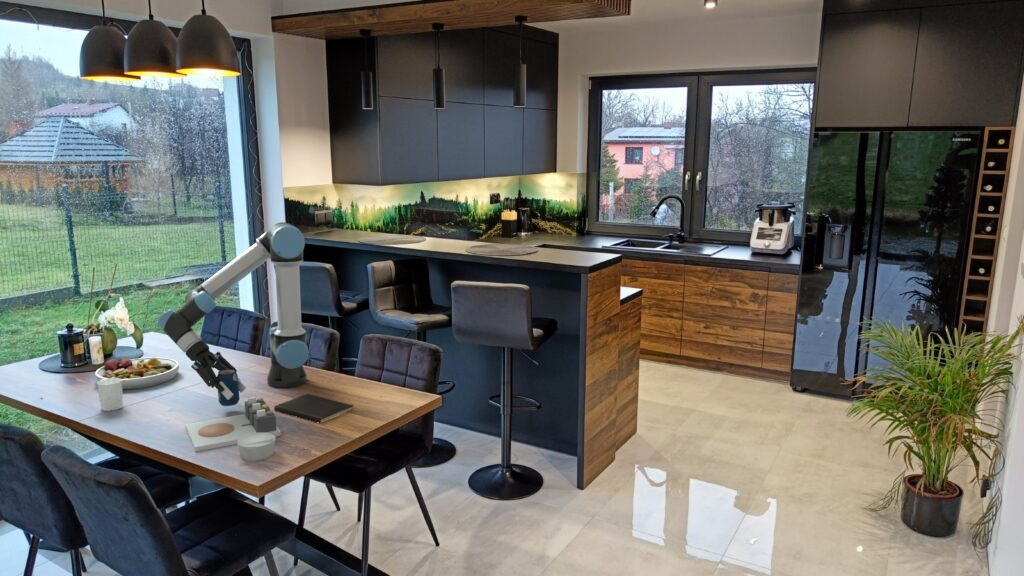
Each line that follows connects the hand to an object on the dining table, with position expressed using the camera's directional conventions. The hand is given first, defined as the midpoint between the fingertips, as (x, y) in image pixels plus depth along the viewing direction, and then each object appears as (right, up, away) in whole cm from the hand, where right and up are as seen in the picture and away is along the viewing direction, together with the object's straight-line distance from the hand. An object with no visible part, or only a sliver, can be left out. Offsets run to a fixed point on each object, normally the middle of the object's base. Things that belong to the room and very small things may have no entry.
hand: (237, 393), depth 257 cm
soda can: (-3, -4, +2) cm, 6 cm away
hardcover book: (+26, -7, +4) cm, 27 cm away
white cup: (-47, -6, +4) cm, 47 cm away
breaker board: (+5, -10, -17) cm, 21 cm away
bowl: (-54, 0, +37) cm, 65 cm away
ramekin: (+19, -14, -35) cm, 42 cm away
